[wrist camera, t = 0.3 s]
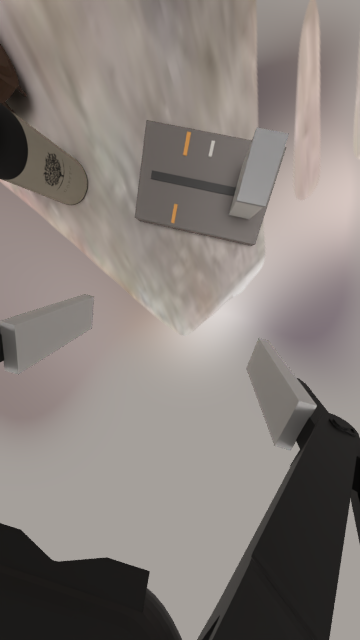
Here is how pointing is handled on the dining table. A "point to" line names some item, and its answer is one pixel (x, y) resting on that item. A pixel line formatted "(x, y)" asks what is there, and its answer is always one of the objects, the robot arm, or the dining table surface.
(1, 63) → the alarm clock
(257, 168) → the fader
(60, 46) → the dining table surface
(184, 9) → the dining table surface
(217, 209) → the console
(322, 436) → the robot arm
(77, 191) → the travel mug
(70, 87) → the dining table surface
